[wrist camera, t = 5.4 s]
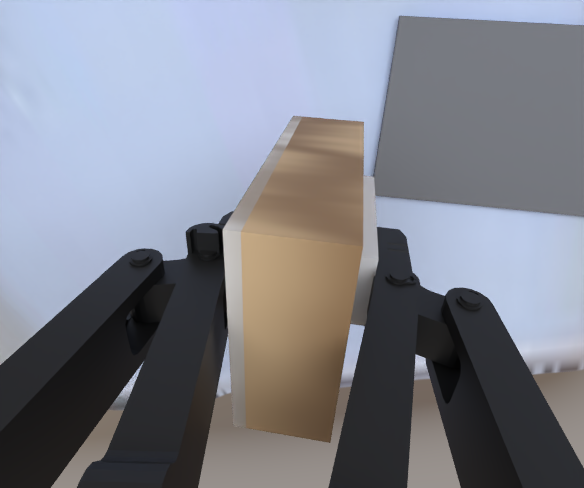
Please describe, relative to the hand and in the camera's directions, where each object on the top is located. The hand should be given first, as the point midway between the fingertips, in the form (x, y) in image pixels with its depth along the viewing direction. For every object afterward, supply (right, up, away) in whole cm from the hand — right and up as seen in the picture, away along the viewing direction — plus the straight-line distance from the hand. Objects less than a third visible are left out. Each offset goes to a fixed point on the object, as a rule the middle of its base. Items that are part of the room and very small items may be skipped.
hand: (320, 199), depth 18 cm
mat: (+14, +6, +9) cm, 18 cm away
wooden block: (0, 0, +1) cm, 1 cm away
